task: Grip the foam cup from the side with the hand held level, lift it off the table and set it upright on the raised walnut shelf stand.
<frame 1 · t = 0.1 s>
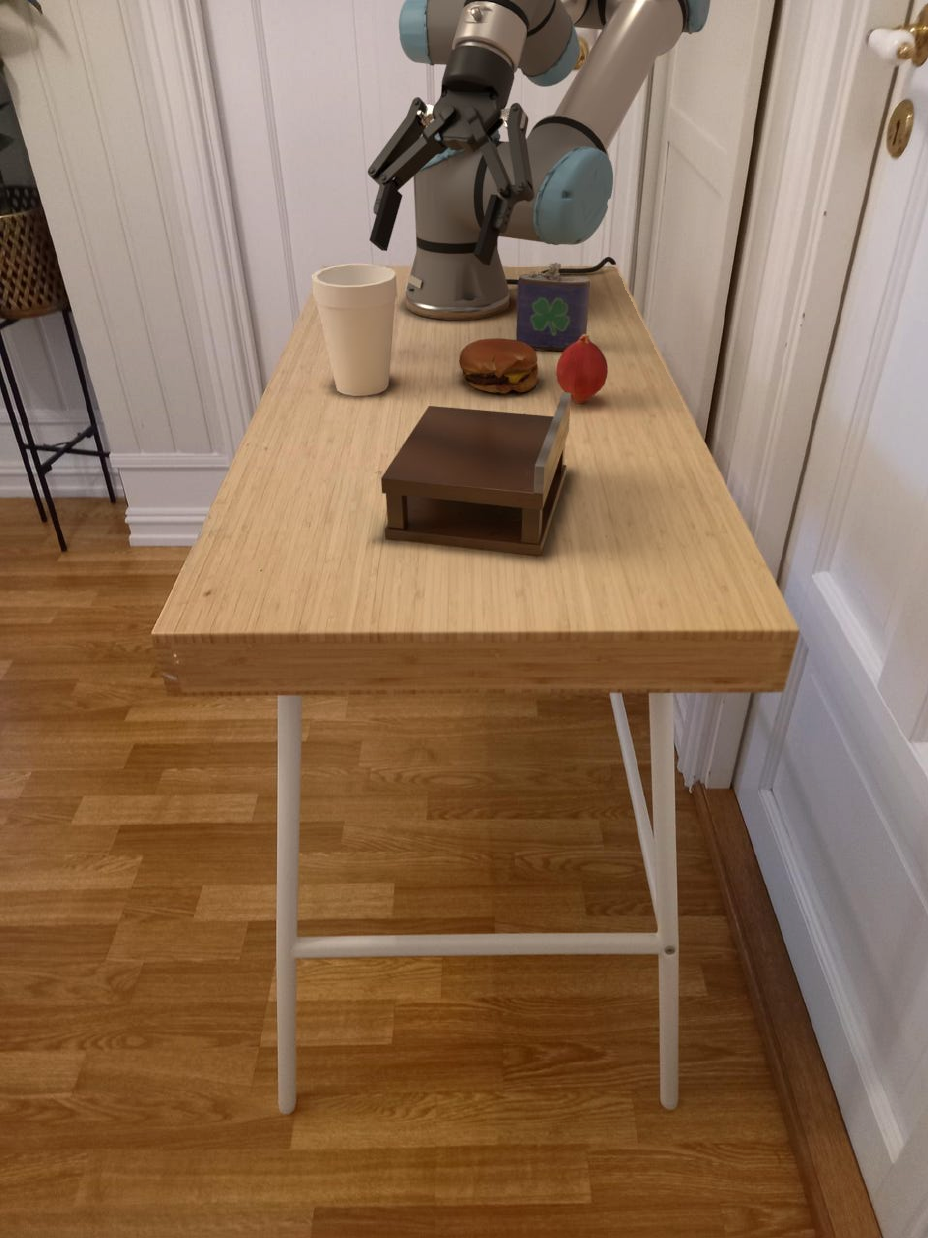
hand: (428, 252, 103), 15 cm above the table, tool tilted 35°, fingers open, 13 cm apart
flask: (550, 348, 123), on the table
foam cup: (362, 387, 113), on the table
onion: (579, 403, 108), on the table
burger: (499, 383, 113), on the table
shelf: (480, 504, 88), on the table
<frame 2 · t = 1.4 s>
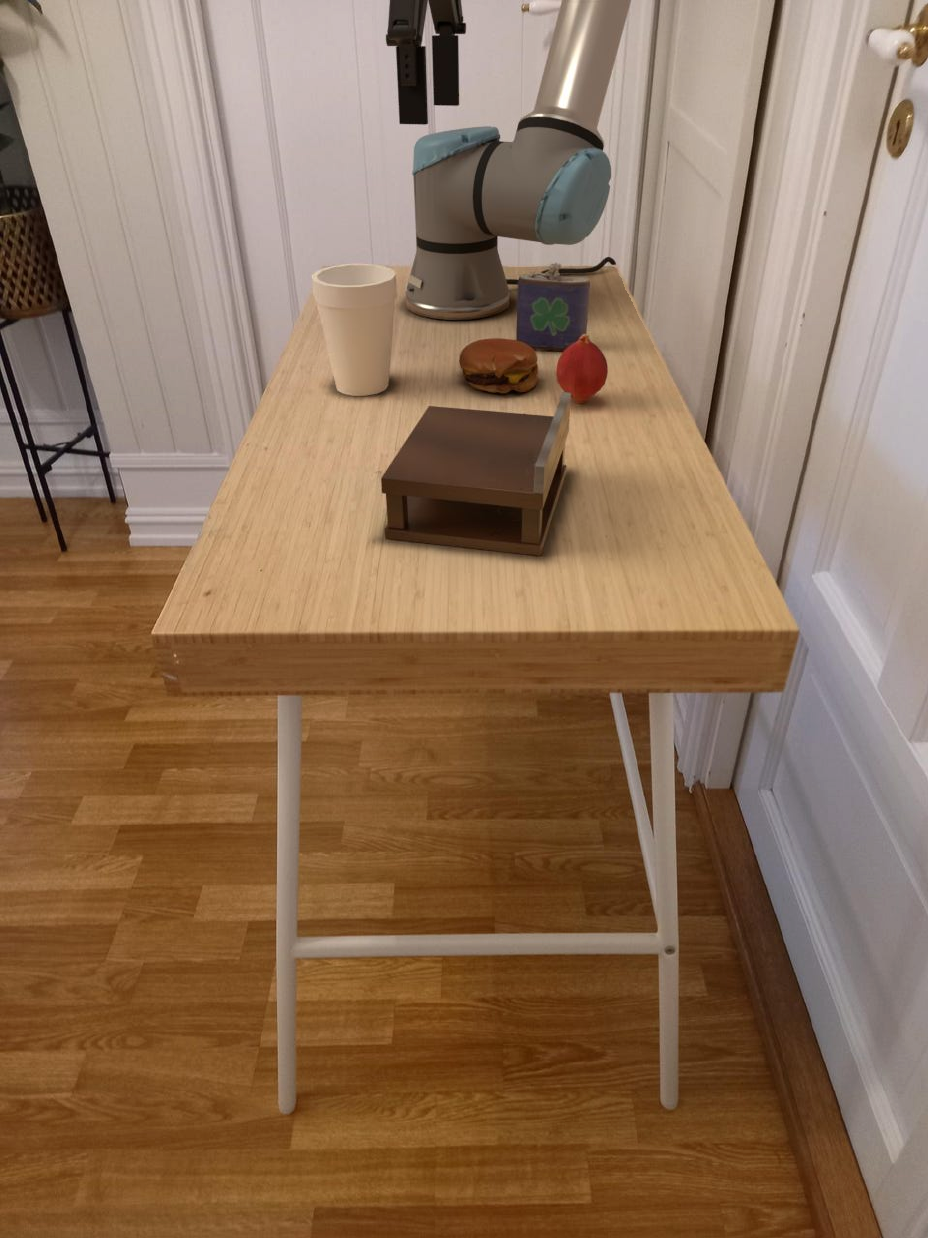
hand: (431, 114, 97), 29 cm above the table, tool pointing down, fingers open, 13 cm apart
nothing on the table moved.
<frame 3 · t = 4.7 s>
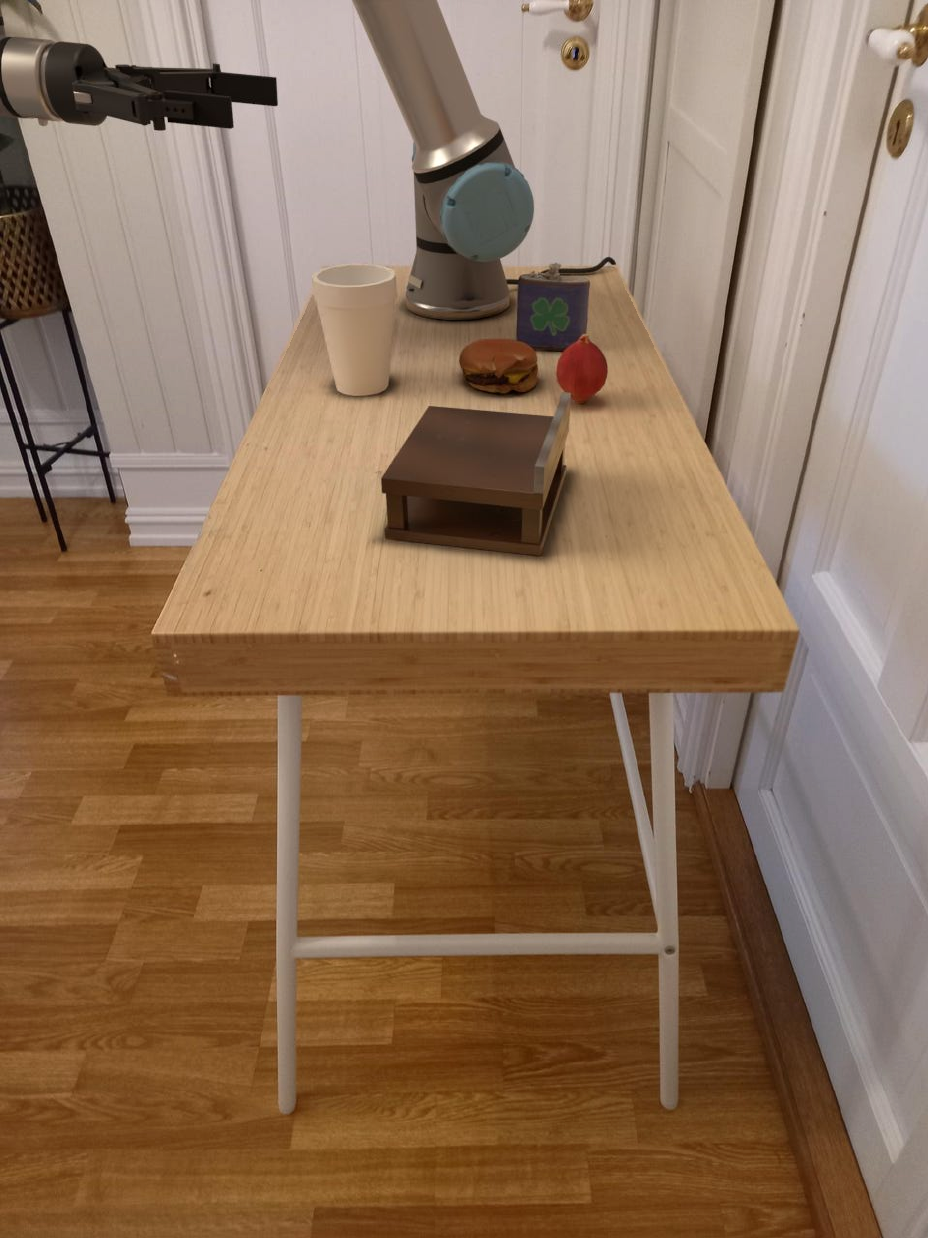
hand: (255, 101, 96), 30 cm above the table, tool horizontal, fingers open, 13 cm apart
nothing on the table moved.
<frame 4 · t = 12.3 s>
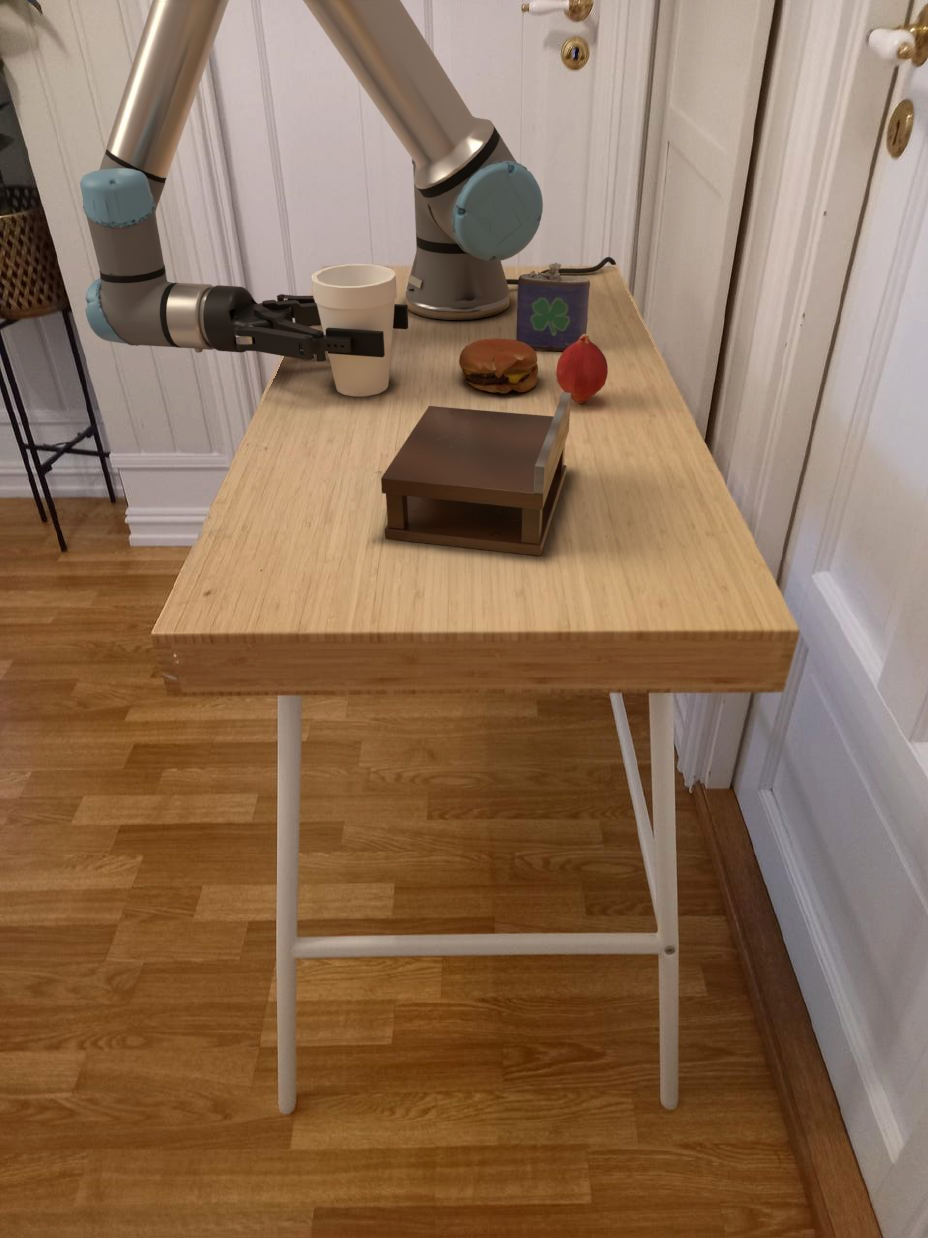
hand: (395, 330, 108), 7 cm above the table, tool horizontal, fingers closed on foam cup, 9 cm apart
foam cup: (362, 387, 112), on the table, touching gripper
everything else where it was.
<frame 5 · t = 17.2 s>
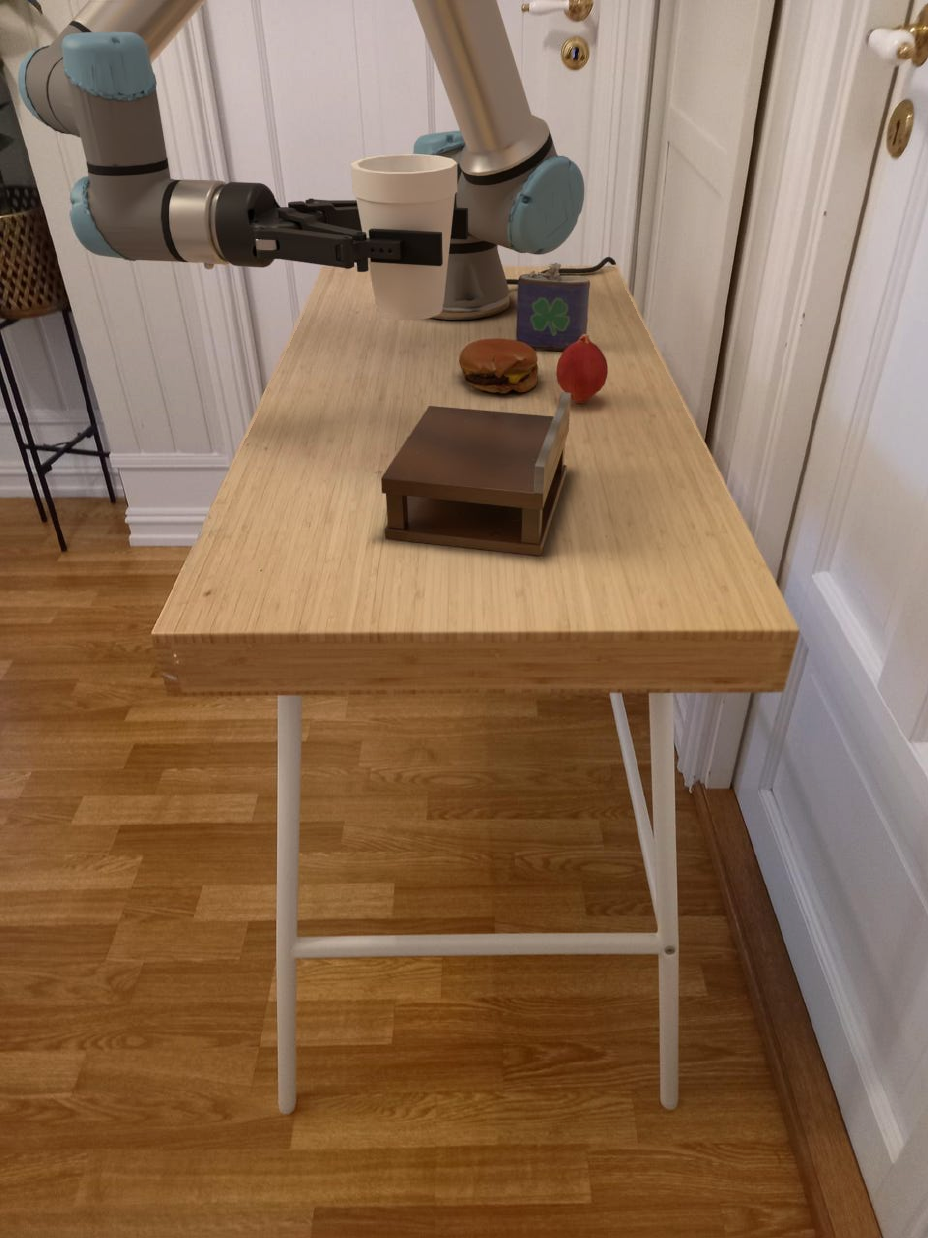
hand: (454, 235, 86), 21 cm above the table, tool horizontal, fingers closed on foam cup, 9 cm apart
foam cup: (410, 311, 91), point 14 cm above the table, touching gripper
everything else where it was.
when the fingers open (13 cm above the table, at t = 22.1 s): foam cup stays where it is, resting on shelf.
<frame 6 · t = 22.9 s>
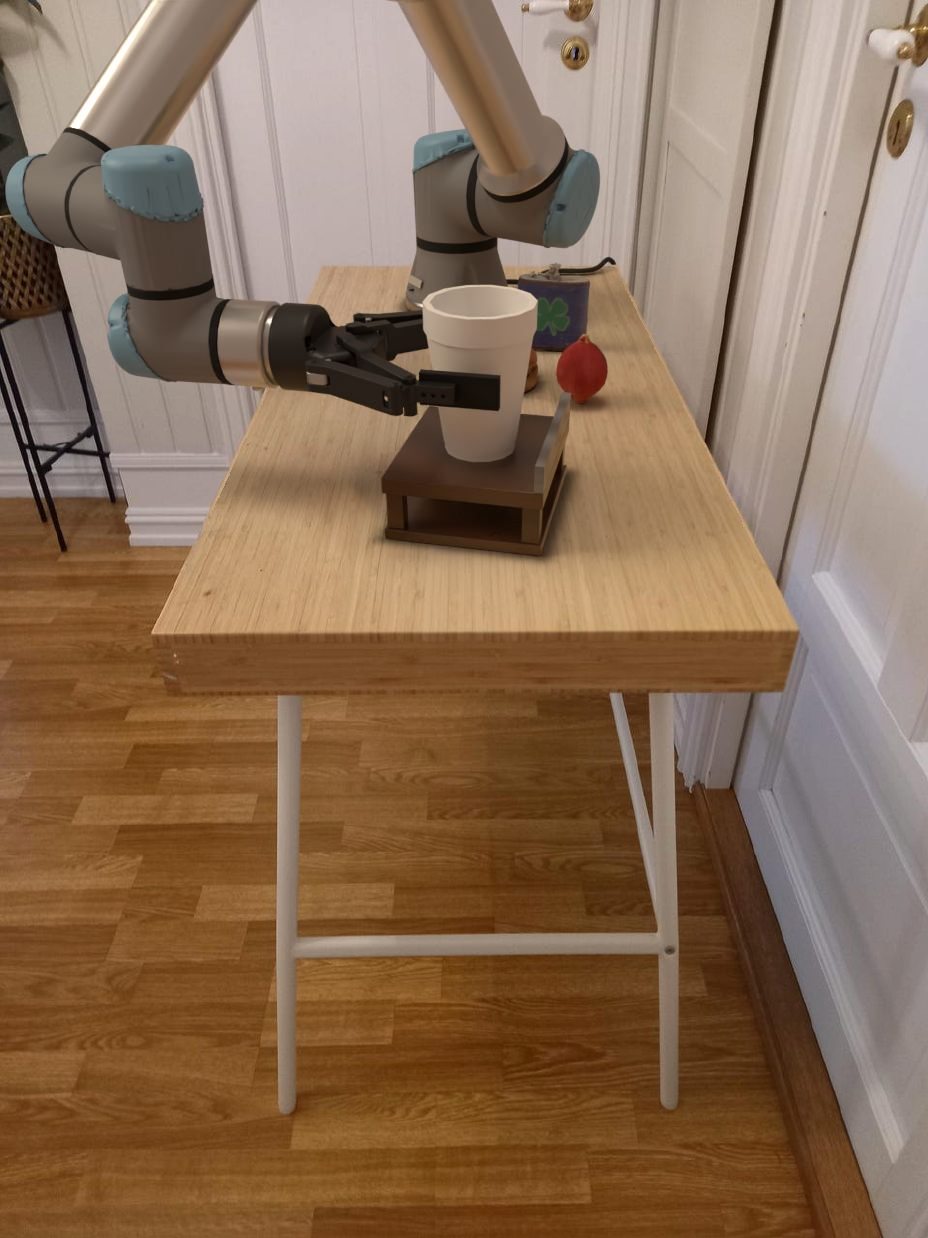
hand: (515, 363, 79), 14 cm above the table, tool horizontal, fingers open, 13 cm apart
foam cup: (480, 448, 84), point 6 cm above the table, touching shelf
everything else where it was.
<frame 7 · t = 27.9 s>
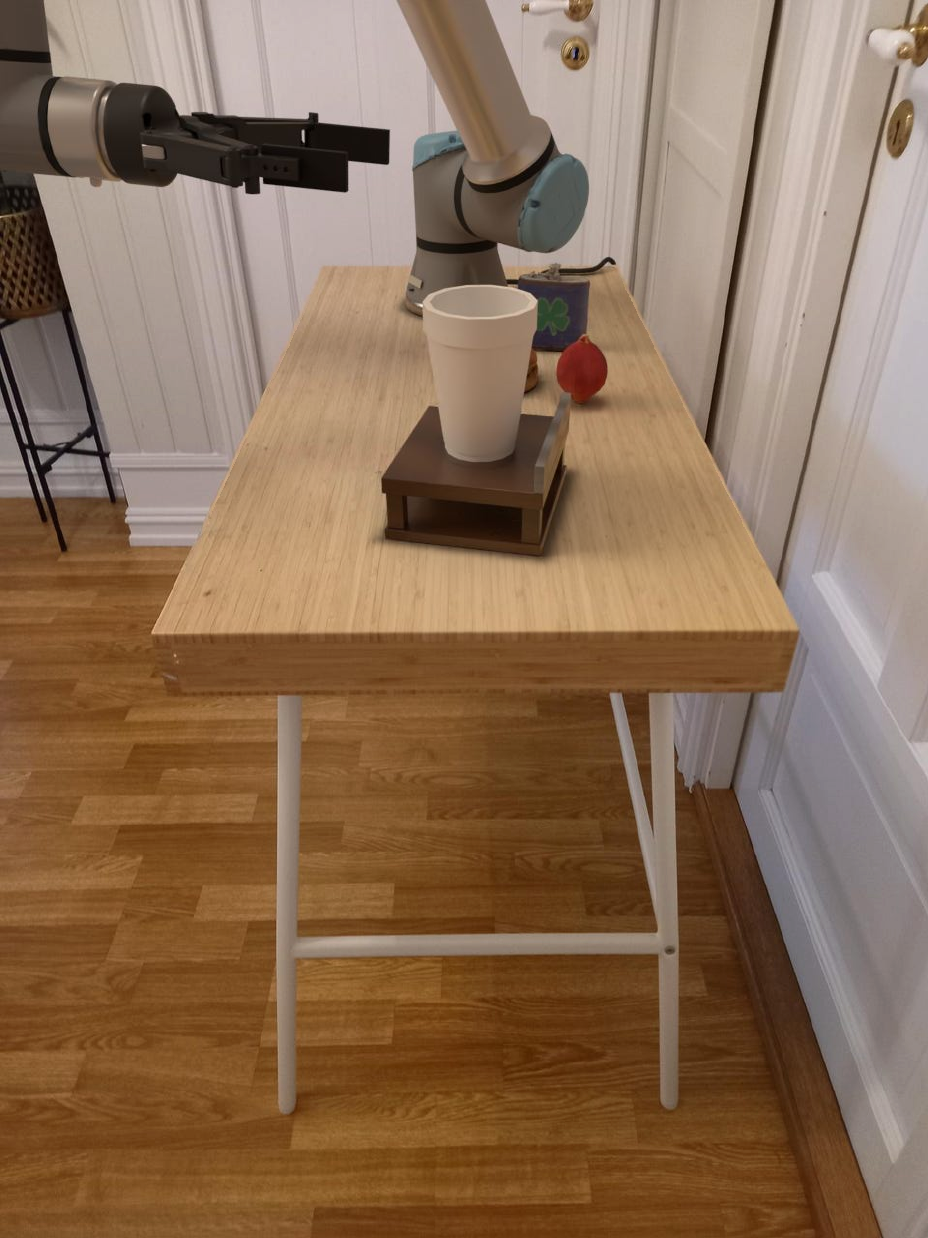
hand: (370, 158, 76), 29 cm above the table, tool horizontal, fingers open, 13 cm apart
nothing on the table moved.
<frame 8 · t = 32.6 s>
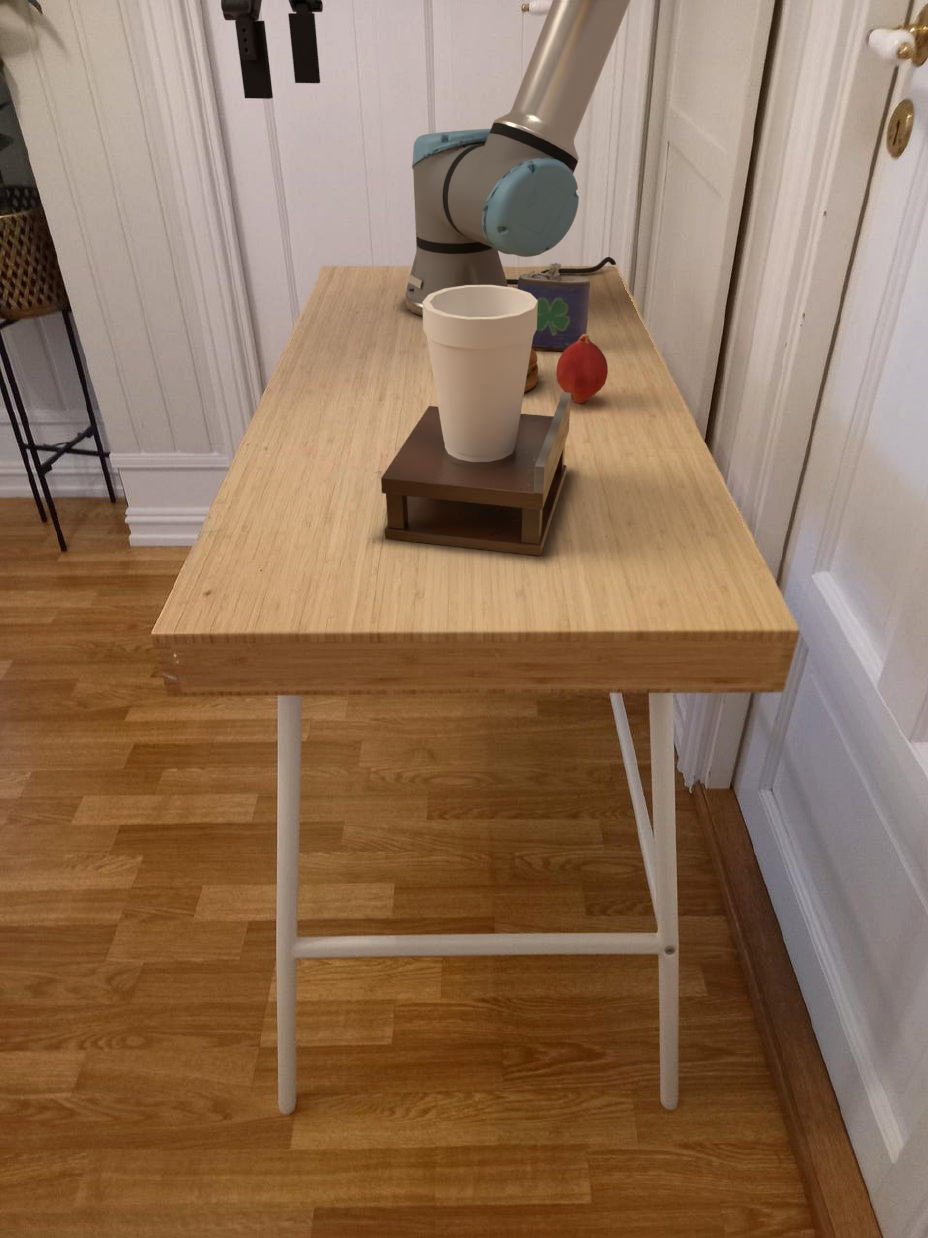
hand: (284, 90, 99), 31 cm above the table, tool pointing down, fingers open, 13 cm apart
nothing on the table moved.
at the end: foam cup inside the target area on the shelf (0.2 cm from its centre), point 5.8 cm above the shelf's base; foam cup tilted 0°; the gripper is holding nothing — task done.
